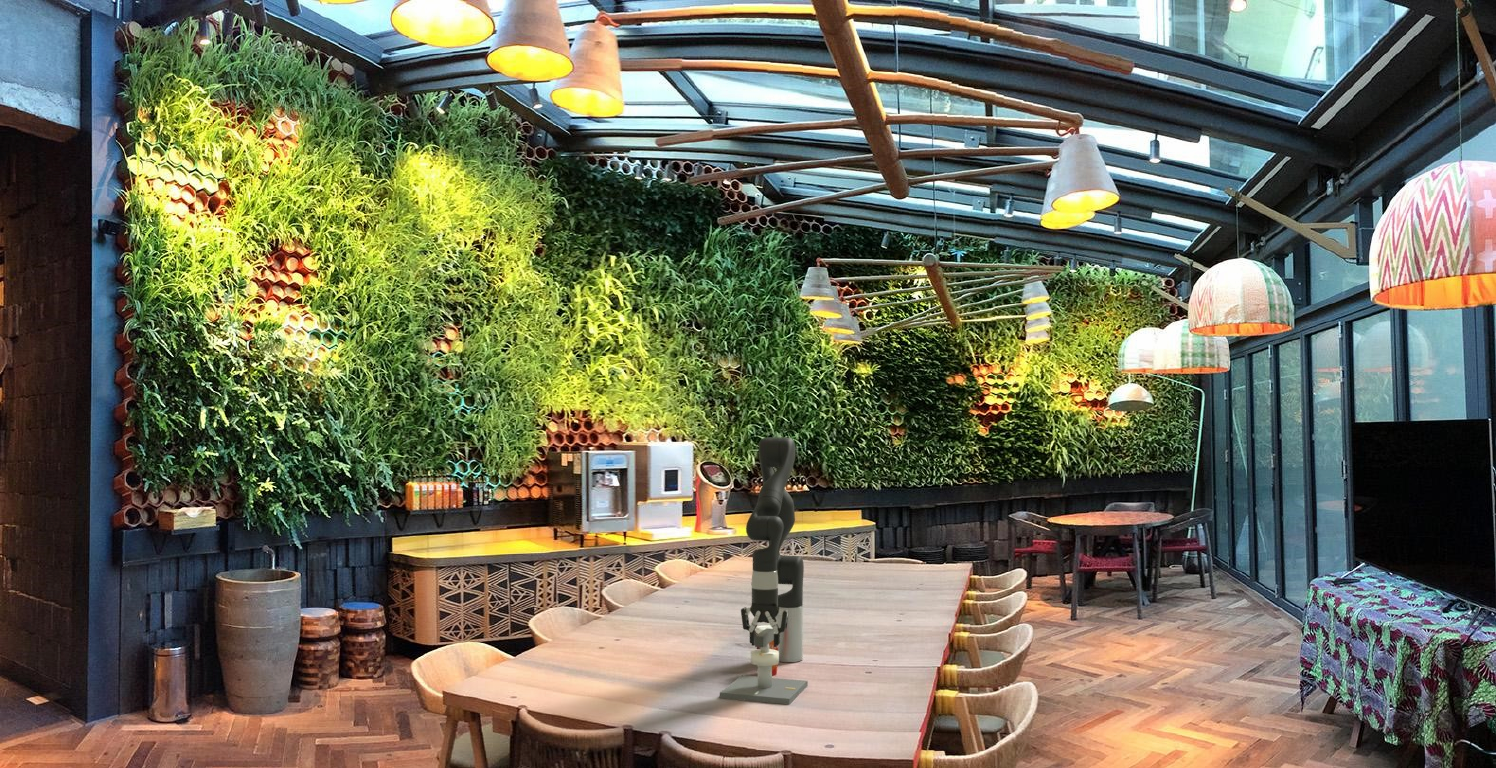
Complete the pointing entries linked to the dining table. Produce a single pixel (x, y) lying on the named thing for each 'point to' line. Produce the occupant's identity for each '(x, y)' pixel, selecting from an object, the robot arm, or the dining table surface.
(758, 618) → the robot arm
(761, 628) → the paper cup
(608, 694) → the dining table surface
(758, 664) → the coupling
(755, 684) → the post board
